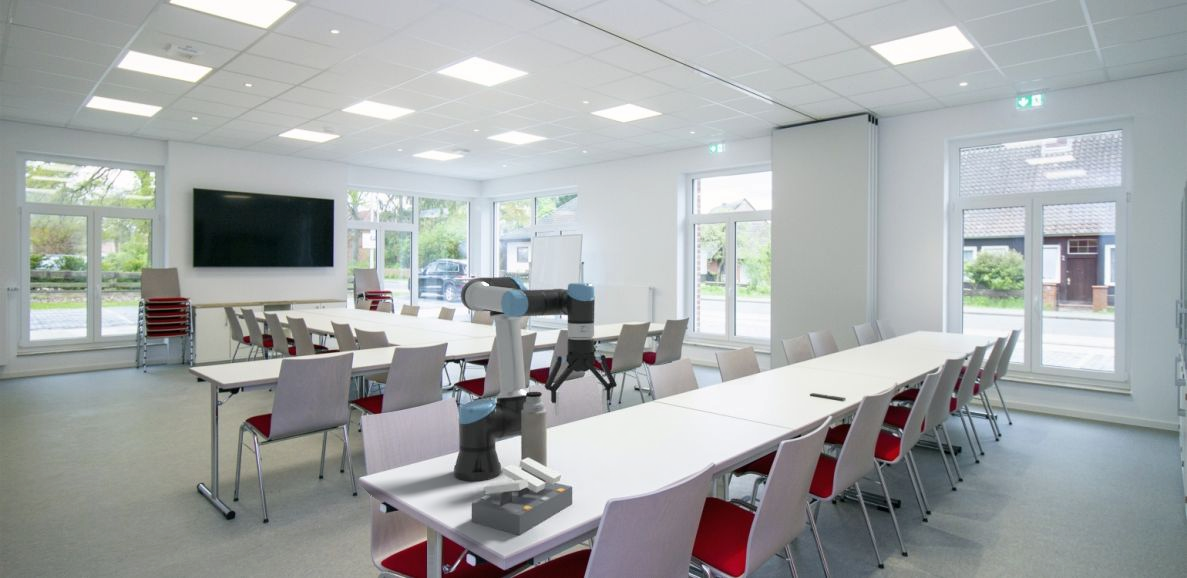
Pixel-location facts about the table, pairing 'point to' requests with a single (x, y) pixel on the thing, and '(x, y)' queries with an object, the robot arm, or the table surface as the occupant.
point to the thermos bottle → (534, 430)
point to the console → (521, 507)
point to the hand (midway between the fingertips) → (580, 413)
